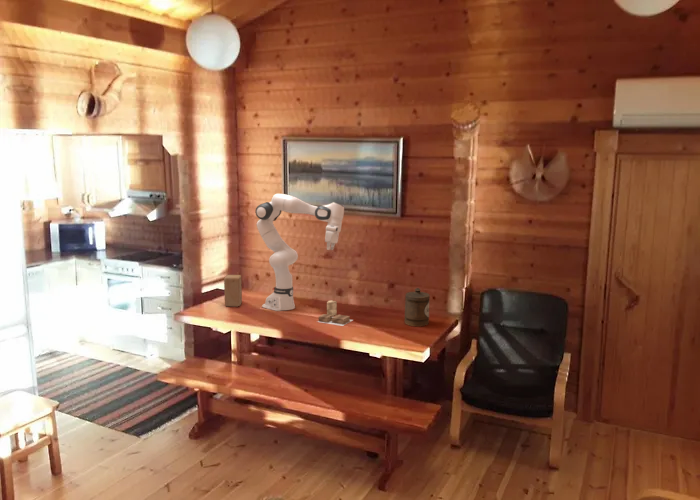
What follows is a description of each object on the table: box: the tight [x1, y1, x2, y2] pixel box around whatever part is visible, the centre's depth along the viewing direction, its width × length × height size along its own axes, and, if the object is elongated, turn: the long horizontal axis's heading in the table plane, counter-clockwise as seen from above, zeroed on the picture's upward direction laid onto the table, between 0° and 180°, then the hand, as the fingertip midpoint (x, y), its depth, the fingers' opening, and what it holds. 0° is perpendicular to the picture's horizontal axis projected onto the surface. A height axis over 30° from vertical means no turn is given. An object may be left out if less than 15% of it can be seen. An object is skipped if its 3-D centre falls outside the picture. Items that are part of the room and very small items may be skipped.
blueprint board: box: [316, 319, 354, 327], centre depth 365 cm, size 18×14×1 cm
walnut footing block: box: [318, 313, 333, 323], centre depth 365 cm, size 6×6×3 cm
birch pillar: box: [326, 300, 338, 317], centre depth 377 cm, size 4×4×10 cm
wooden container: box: [404, 287, 431, 327], centre depth 364 cm, size 15×15×22 cm
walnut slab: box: [332, 313, 351, 325], centre depth 363 cm, size 8×8×3 cm
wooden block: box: [223, 274, 243, 308], centre depth 402 cm, size 10×10×20 cm
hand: (329, 249), depth 375 cm, fingers open, 8 cm apart
